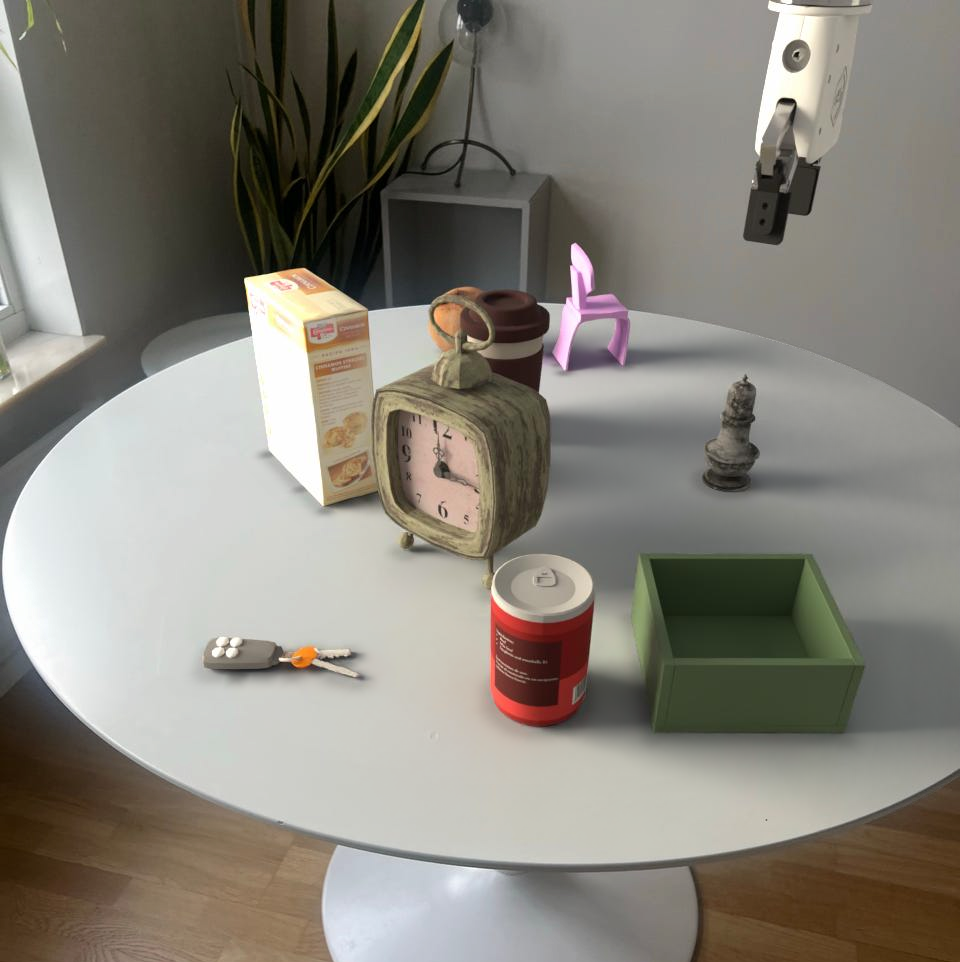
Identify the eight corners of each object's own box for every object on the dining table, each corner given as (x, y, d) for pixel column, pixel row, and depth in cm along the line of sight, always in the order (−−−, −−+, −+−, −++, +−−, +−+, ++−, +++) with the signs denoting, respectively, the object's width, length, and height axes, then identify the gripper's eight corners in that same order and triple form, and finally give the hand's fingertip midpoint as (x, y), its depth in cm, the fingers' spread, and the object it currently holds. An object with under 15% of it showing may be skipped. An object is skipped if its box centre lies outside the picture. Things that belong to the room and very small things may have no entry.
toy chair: (630, 368, 128) (642, 251, 119) (567, 374, 126) (574, 256, 117) (610, 344, 134) (620, 232, 125) (550, 350, 133) (555, 236, 123)
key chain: (201, 674, 79) (197, 660, 78) (213, 645, 82) (210, 632, 81) (357, 679, 79) (356, 665, 78) (364, 650, 82) (363, 637, 81)
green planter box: (796, 617, 85) (812, 553, 81) (844, 733, 74) (866, 665, 70) (630, 617, 85) (638, 552, 81) (653, 732, 74) (664, 664, 70)
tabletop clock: (379, 549, 94) (359, 290, 78) (441, 512, 99) (434, 263, 84) (495, 606, 87) (498, 333, 71) (554, 562, 92) (570, 300, 76)
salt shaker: (687, 478, 105) (703, 373, 97) (720, 461, 108) (738, 357, 100) (732, 499, 101) (752, 391, 94) (765, 480, 104) (787, 374, 97)
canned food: (569, 657, 81) (577, 547, 74) (598, 721, 75) (610, 607, 68) (480, 669, 80) (480, 558, 73) (502, 736, 74) (505, 622, 67)
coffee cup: (502, 400, 120) (504, 278, 111) (562, 425, 115) (569, 299, 105) (444, 425, 115) (441, 298, 105) (503, 453, 109) (506, 322, 100)
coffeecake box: (383, 490, 103) (370, 308, 91) (322, 508, 100) (300, 322, 88) (324, 435, 113) (306, 264, 100) (267, 450, 110) (241, 276, 98)
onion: (449, 383, 131) (423, 328, 123) (438, 340, 137) (411, 284, 128) (514, 357, 130) (492, 299, 122) (500, 314, 135) (478, 256, 127)
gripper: (850, 0, 65) (796, 262, 75) (895, -20, 77) (843, 208, 87) (740, -6, 68) (703, 247, 78) (800, -24, 79) (761, 198, 90)
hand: (777, 227), depth 83 cm, fingers open, 9 cm apart
